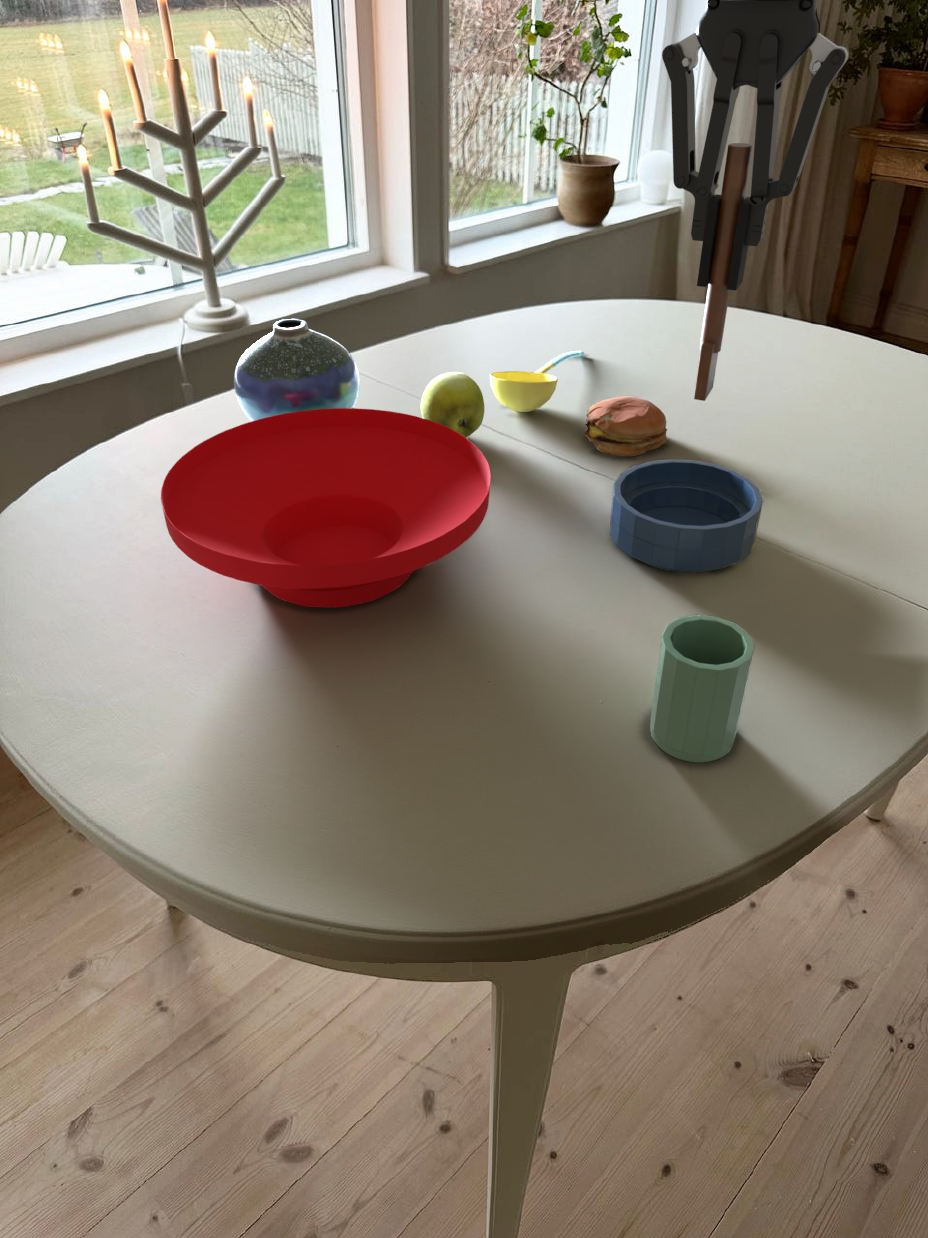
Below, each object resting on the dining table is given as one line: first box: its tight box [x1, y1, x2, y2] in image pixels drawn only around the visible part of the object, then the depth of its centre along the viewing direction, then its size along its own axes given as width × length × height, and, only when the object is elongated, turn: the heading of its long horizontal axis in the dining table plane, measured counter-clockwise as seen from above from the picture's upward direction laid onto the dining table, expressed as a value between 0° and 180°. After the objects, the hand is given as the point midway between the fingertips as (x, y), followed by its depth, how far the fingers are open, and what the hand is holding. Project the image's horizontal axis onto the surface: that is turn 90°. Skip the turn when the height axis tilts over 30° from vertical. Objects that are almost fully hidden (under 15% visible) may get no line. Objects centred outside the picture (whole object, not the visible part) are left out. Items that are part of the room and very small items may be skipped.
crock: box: [649, 614, 756, 763], centre depth 69 cm, size 6×6×9 cm
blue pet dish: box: [609, 458, 764, 573], centre depth 93 cm, size 14×14×6 cm
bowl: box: [160, 407, 492, 608], centre depth 89 cm, size 30×30×10 cm
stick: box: [693, 142, 753, 402], centre depth 76 cm, size 2×3×20 cm, turn 155°
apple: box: [420, 371, 485, 438], centre depth 113 cm, size 8×9×8 cm
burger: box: [583, 395, 668, 458], centre depth 112 cm, size 10×9×5 cm
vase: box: [233, 318, 360, 422], centre depth 114 cm, size 15×15×13 cm
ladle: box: [489, 350, 585, 413], centre depth 127 cm, size 9×26×6 cm, turn 154°
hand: (719, 282), depth 76 cm, fingers closed on stick, 2 cm apart
